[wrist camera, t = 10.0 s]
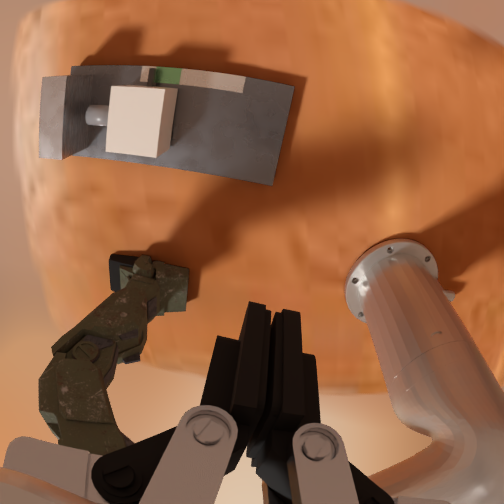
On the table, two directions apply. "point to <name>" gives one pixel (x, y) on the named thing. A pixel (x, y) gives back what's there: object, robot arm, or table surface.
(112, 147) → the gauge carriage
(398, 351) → the robot arm
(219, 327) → the table surface
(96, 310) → the mechanical leg
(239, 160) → the gauge base
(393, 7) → the table surface
